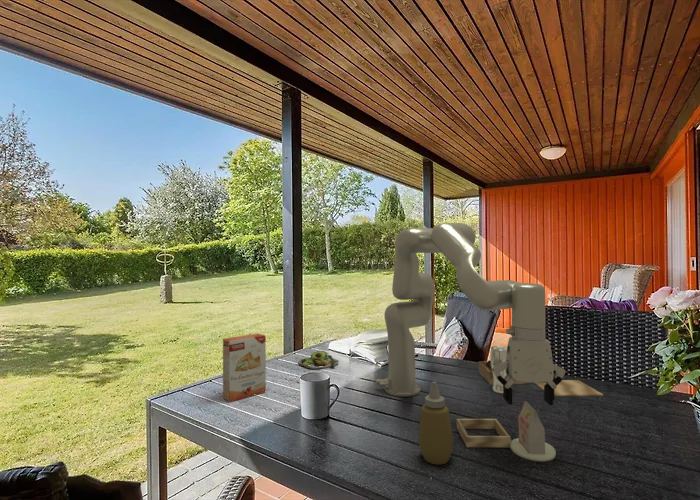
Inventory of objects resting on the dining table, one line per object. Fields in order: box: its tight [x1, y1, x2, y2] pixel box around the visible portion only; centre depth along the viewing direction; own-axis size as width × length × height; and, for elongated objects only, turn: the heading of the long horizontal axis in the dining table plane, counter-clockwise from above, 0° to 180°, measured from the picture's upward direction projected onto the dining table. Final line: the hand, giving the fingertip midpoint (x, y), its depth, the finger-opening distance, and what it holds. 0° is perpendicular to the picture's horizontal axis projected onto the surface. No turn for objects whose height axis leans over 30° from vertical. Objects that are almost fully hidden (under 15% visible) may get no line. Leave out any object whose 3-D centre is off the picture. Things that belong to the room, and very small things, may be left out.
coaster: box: [509, 437, 557, 462], centre depth 93 cm, size 10×10×1 cm
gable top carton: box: [517, 400, 546, 454], centre depth 93 cm, size 4×7×10 cm, turn 176°
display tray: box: [478, 360, 530, 385], centre depth 148 cm, size 14×14×4 cm
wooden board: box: [532, 379, 604, 397], centre depth 136 cm, size 17×15×1 cm
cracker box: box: [222, 333, 267, 403], centre depth 136 cm, size 14×6×21 cm, turn 131°
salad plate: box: [298, 350, 340, 370], centre depth 173 cm, size 19×18×5 cm
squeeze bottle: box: [418, 381, 454, 465], centre depth 91 cm, size 8×8×18 cm
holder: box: [456, 418, 512, 448], centre depth 101 cm, size 11×11×2 cm
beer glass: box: [490, 345, 507, 394], centre depth 135 cm, size 7×7×15 cm
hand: (528, 402), depth 94 cm, fingers open, 9 cm apart
